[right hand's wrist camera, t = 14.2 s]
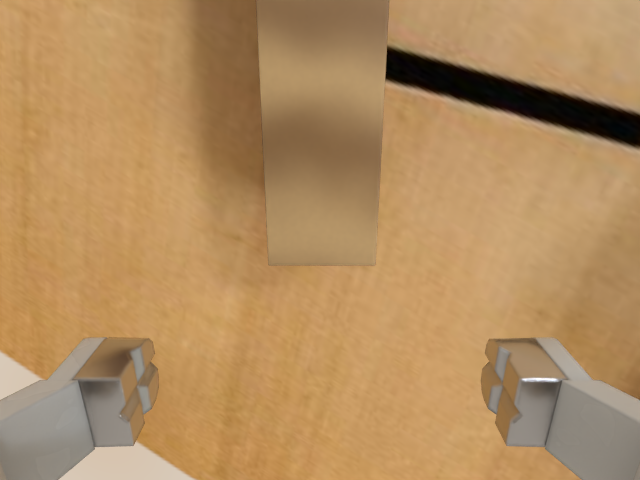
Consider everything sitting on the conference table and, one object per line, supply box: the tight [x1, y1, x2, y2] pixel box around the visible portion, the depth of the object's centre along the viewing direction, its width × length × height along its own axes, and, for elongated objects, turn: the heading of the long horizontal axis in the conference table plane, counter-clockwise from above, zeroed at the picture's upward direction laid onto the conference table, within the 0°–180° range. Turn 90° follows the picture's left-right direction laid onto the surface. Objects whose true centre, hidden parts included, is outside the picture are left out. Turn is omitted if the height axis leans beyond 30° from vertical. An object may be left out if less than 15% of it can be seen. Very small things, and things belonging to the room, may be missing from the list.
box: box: [256, 0, 389, 266], centre depth 27 cm, size 26×6×13 cm, turn 0°
